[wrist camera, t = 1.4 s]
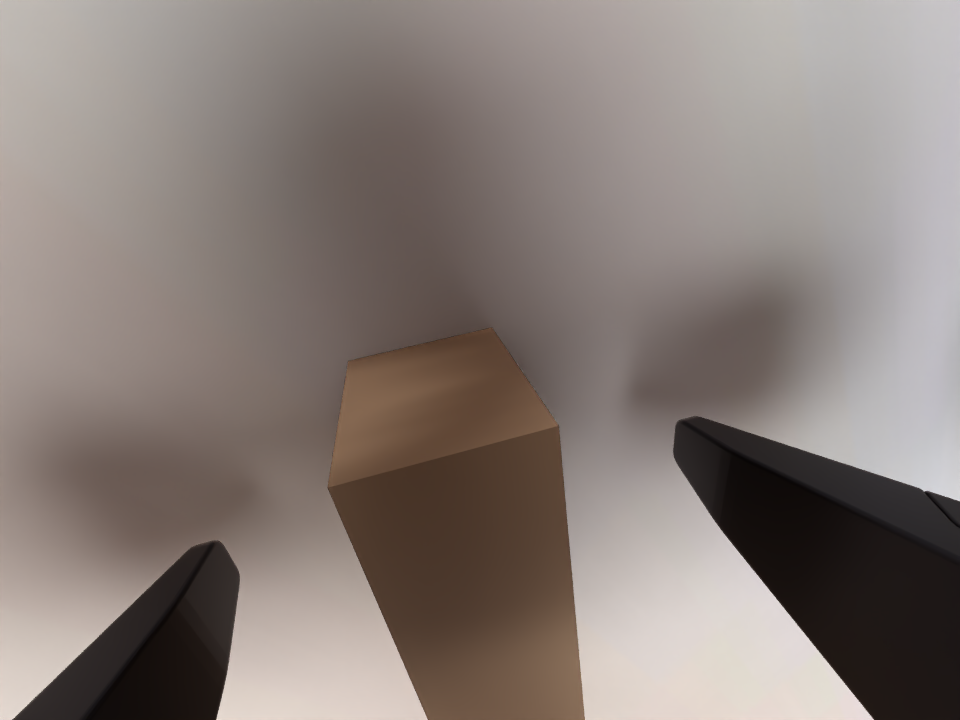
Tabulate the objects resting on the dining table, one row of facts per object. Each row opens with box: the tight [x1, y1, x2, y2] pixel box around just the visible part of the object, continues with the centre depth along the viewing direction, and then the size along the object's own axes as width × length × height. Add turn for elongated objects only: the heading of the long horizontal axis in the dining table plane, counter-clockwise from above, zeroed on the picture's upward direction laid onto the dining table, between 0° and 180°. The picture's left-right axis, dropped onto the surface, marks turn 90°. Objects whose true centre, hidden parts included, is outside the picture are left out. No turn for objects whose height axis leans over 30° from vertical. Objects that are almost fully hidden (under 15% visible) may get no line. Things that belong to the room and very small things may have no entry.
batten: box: [328, 328, 585, 720], centre depth 11 cm, size 3×18×4 cm, turn 9°
